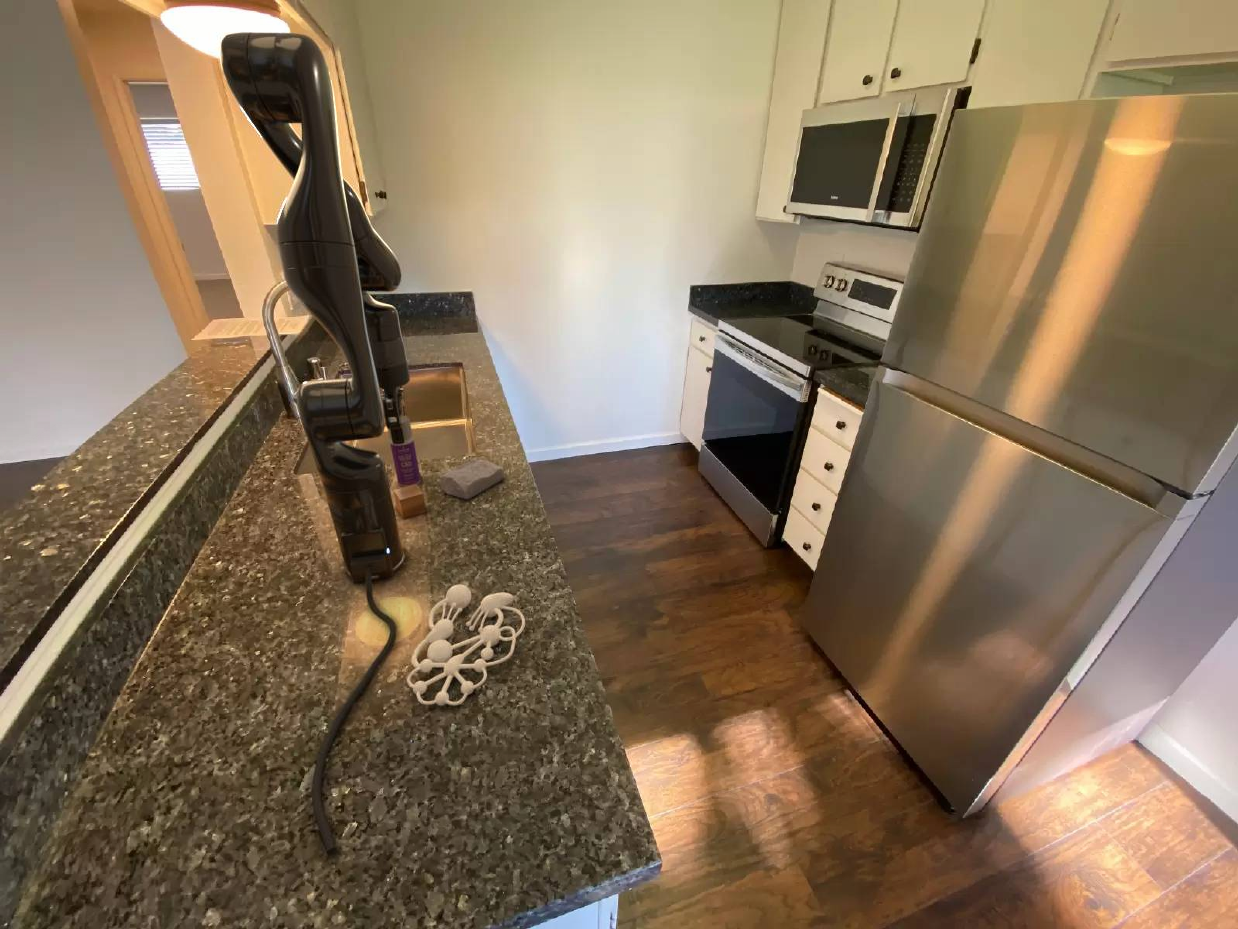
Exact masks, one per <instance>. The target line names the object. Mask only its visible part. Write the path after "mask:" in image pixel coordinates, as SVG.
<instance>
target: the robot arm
mask: <svg viewBox="0 0 1238 929" xmlns="http://www.w3.org/2000/svg"><path fill="white" fill-rule="evenodd" d="M219 62H220V66H221V70H222V73H223V76H224V79H225V81H226V83H227V85H228V88H229V90H230V92H231V93H232V95H233V97H234V99H235V101H236V103H237V104H238V106H239V107H240V109H241V110H242V112H243V113H244V114H245V116H246V117H247V120H248V121H249V122H250V123H251V125H252V126H253V127H254V129H255V130H256V131H257V133H258V134H259V135H260V138H262V140H263V141H264V142H265V144H266V145H267V146H268V148H269V149H270V151H271V152H272V153H273V154H274V156H275V157H276V159H277V160H278V161H279V162H280V164H281V166H282V167H283V168H284V169H285V170H286V172H287V173H288V174H289V175H290V177H291V178H292V179H293V182H292V184H291V186H290V189H289V191H288V193H287V195H286V197H285V200H284V201H283V204H282V207H281V209H280V212H279V214H278V218H277V222H276V228H275V236H276V242H277V245H278V246H277V247H278V251H279V258H280V263H281V266H282V272H283V277H284V280H285V282H286V285H287V287H288V288H289V290H290V292H291V293H292V295H293V296H294V297H295V298H296V299H297V300H298V302H299V303H300V304H301V305H302V306H303V307H304V309H305V310H307V312H308V313H309V314H310V315H311V316H312V317H313V318H314V320H316V321H317V323H319V325H321V327H322V328H323V329H324V330H325V331H326V332H327V334H328V335H329V336H330V337H331V339H332V340H333V341H334V344H336V346H337V347H338V348H339V350H340V352H341V353H342V356H343V357H344V359H345V360H346V361H345V362H346V363H347V365H348V368H349V372H350V374H351V377H341V378H326V379H325V378H324V379H313V380H308V381H307V380H306V381H304V382H302V383H301V384H300V385H299V387H298V389H297V394H296V406H297V411H298V416H299V419H300V422H301V425H302V429H303V432H304V434H305V437H306V440H307V443H308V445H309V448H310V451H311V455H312V457H313V460H314V464H315V467H316V471H317V473H318V475H319V478H320V480H321V485H322V488H323V492H324V494H325V498H326V503H327V506H328V509H329V513H330V517H331V520H332V524H333V527H334V531H335V534H336V539H337V541H338V546H339V549H340V552H341V556H342V560H343V563H344V570H345V572H346V575H347V576H348V577H350V578H351V581H352V583H354V584H355V583H362V582H365V594H366V601H367V604H368V606H369V609H370V610H371V611H372V613H373V614H374V615H376V617H378V618H379V619H381V620H382V621H384V623H386V624H387V625H388V628H389V636H388V639H387V642H386V644H385V645H384V647H383V648H382V650H381V651H380V653H379V654H378V655H377V657H376V658H375V659H374V661H373V662H372V663H371V665H370V666H369V668H368V670H367V671H366V673H365V674H364V676H363V677H362V679H361V680H360V682H359V683H358V684H357V686H356V687H355V689H354V690H353V691H352V693H351V694H350V695H349V697H348V698H347V699H346V701H345V702H344V704H343V705H342V707H341V709H340V710H339V712H338V713H337V715H336V716H335V718H334V720H333V722H332V724H331V726H330V727H329V730H328V732H327V734H326V736H325V739H324V741H323V743H322V746H321V748H320V751H319V754H318V756H317V759H316V763H315V766H314V769H313V770H314V771H313V776H312V785H311V803H312V810H313V815H314V818H315V822H316V825H317V827H318V828H317V829H318V831H319V834H320V836H321V839H322V842H323V845H324V848H325V852H326V855H332V854H333V853H335V852H336V851H337V846H336V842H335V838H334V836H333V833H332V830H331V828H330V824H329V822H328V819H327V816H326V813H325V810H324V805H323V801H322V781H323V773H324V767H325V764H326V760H327V757H328V754H329V751H330V749H331V746H332V744H333V741H334V740H335V738H336V735H337V733H338V731H339V728H340V727H341V725H342V722H343V721H344V719H345V717H346V715H347V714H348V712H349V711H350V709H351V707H352V706H354V703H355V702H356V701H357V699H358V698H359V697H360V695H361V693H362V692H363V691H364V689H365V688H366V686H367V685H368V684H369V682H370V680H371V678H372V677H373V676H374V674H375V672H376V671H377V669H378V668H379V666H380V665H381V663H382V662H383V660H385V658H386V656H387V655H388V653H389V652H390V651H391V649H392V647H393V646H394V643H395V640H396V636H397V626H396V622H395V621H394V619H392V618H391V617H390V616H388V615H387V614H386V613H384V612H383V611H382V610H380V608H378V606H377V604H376V602H375V600H374V595H373V583H372V581H376V580H380V579H381V580H382V579H389V578H392V577H394V573H395V572H397V570H399V569H400V568H401V567H402V566H403V564H404V562H405V559H406V556H405V551H404V548H403V544H402V540H401V535H400V530H399V526H398V521H397V517H396V512H395V506H394V501H393V497H392V492H391V487H390V482H389V478H388V473H387V468H386V462H385V460H384V458H383V457H382V454H380V453H378V452H376V451H374V450H371V449H368V448H362V447H359V446H355V445H352V444H349V443H347V442H352V441H361V440H362V441H363V440H372V439H376V438H379V437H381V436H382V435H383V433H384V431H385V428H387V430H388V429H390V431H391V436H392V441H393V444H403V443H404V441H405V440H404V435H403V429H402V425H403V424H402V420H401V417H402V416H403V415H404V416H406V411H405V409H406V397H405V389H404V388H403V386H406V385H407V384H408V383H409V382H410V381H411V376H410V368H409V364H408V357H407V351H406V348H405V343H404V340H403V335H402V331H401V326H400V319H399V313H398V309H396V307H395V306H394V305H392V304H388V303H385V302H381V301H378V300H376V299H374V298H373V297H372V296H371V294H370V293H371V292H372V293H373V292H374V293H390V292H394V291H396V290H397V289H399V287H400V286H401V283H402V280H403V270H402V266H401V264H400V262H399V260H398V258H397V256H396V255H395V252H394V251H392V249H391V248H390V247H389V246H388V244H387V243H386V242H385V241H384V240H383V239H382V237H381V236H380V235H379V233H378V232H377V231H376V230H375V229H374V227H373V225H372V223H371V221H370V219H369V216H368V214H367V212H366V210H365V207H364V205H363V203H362V201H361V198H360V196H359V195H358V194H357V192H356V191H355V189H354V188H353V187H352V185H351V184H350V183H349V182H348V181H347V180H346V179H345V178H344V176H343V172H342V162H341V152H340V151H341V150H340V142H339V129H338V118H337V109H336V102H335V101H336V100H335V93H334V87H333V82H332V77H331V73H330V70H329V67H328V63H327V60H326V58H325V56H324V54H323V51H322V50H321V48H320V46H319V45H318V43H317V42H316V41H315V40H314V39H313V38H312V37H310V36H309V35H306V34H302V33H295V32H253V31H252V32H249V31H248V32H244V31H241V32H231V33H227V34H225V35H224V36H223V37H222V38H221V40H220V43H219ZM291 124H300V125H301V126H300V127H301V137H300V136H299V135H298V134H297V132H296V131H295V129H294V128H293V126H292V125H291ZM381 389H382V392H381ZM391 417H396V419H397V421H395V422H391Z"/></svg>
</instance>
